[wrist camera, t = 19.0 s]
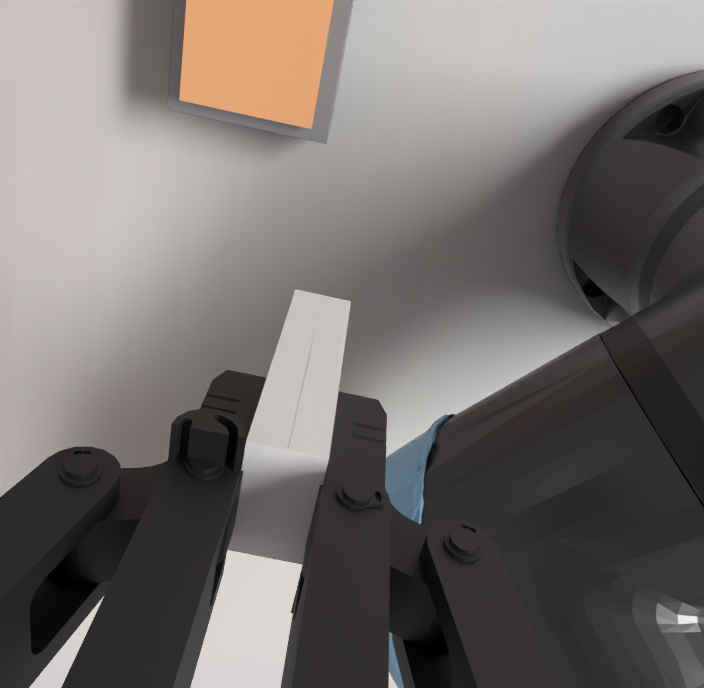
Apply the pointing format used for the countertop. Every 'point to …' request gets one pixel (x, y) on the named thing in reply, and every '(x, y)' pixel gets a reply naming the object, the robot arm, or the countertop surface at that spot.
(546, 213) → the countertop surface
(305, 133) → the button housing
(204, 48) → the button
